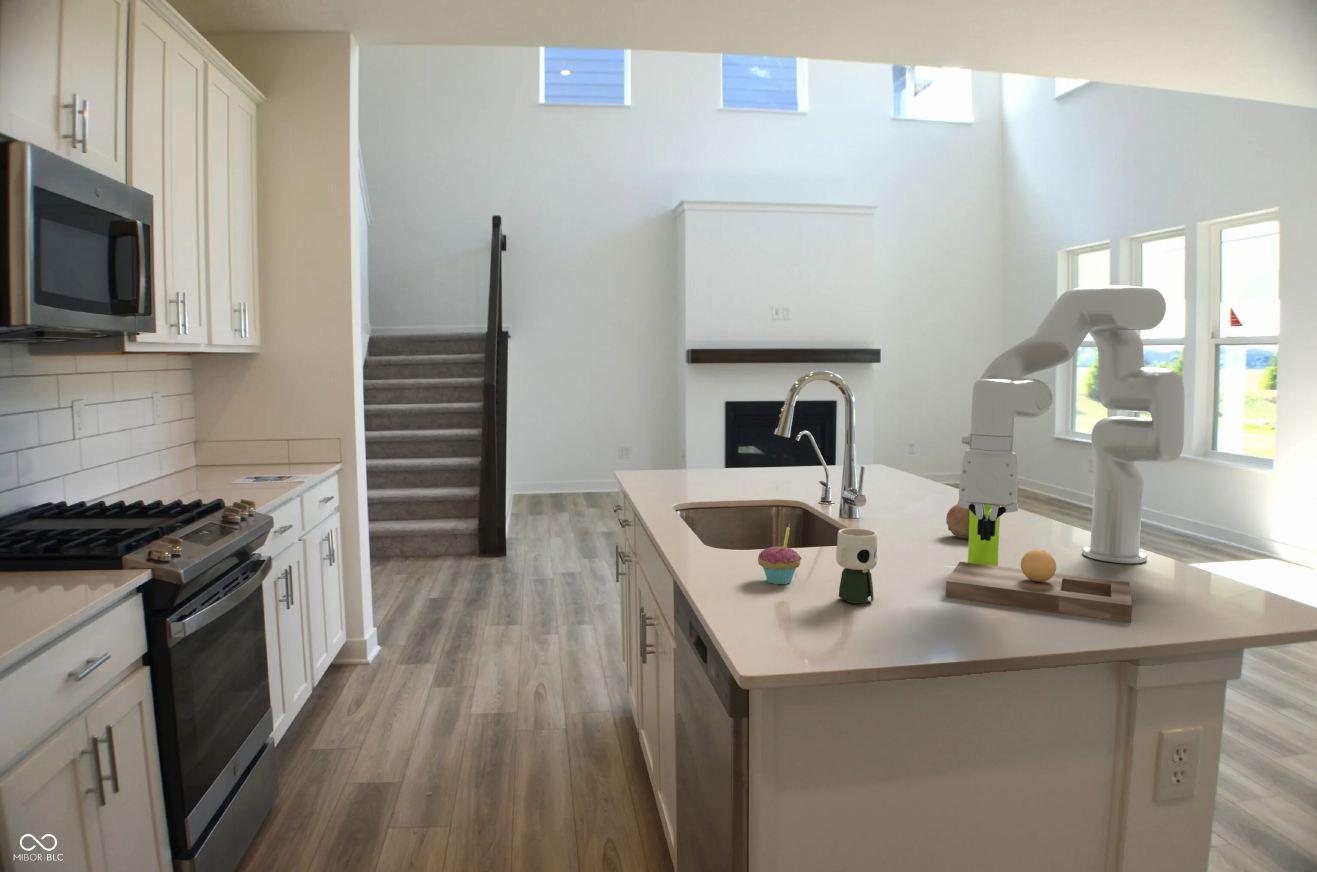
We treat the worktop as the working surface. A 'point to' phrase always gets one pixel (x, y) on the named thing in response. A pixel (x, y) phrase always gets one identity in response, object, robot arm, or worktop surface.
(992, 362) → the robot arm
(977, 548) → the soap dispenser
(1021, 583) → the board
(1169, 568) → the worktop surface
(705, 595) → the worktop surface
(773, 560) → the cupcake
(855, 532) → the character mug
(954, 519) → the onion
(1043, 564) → the ball
